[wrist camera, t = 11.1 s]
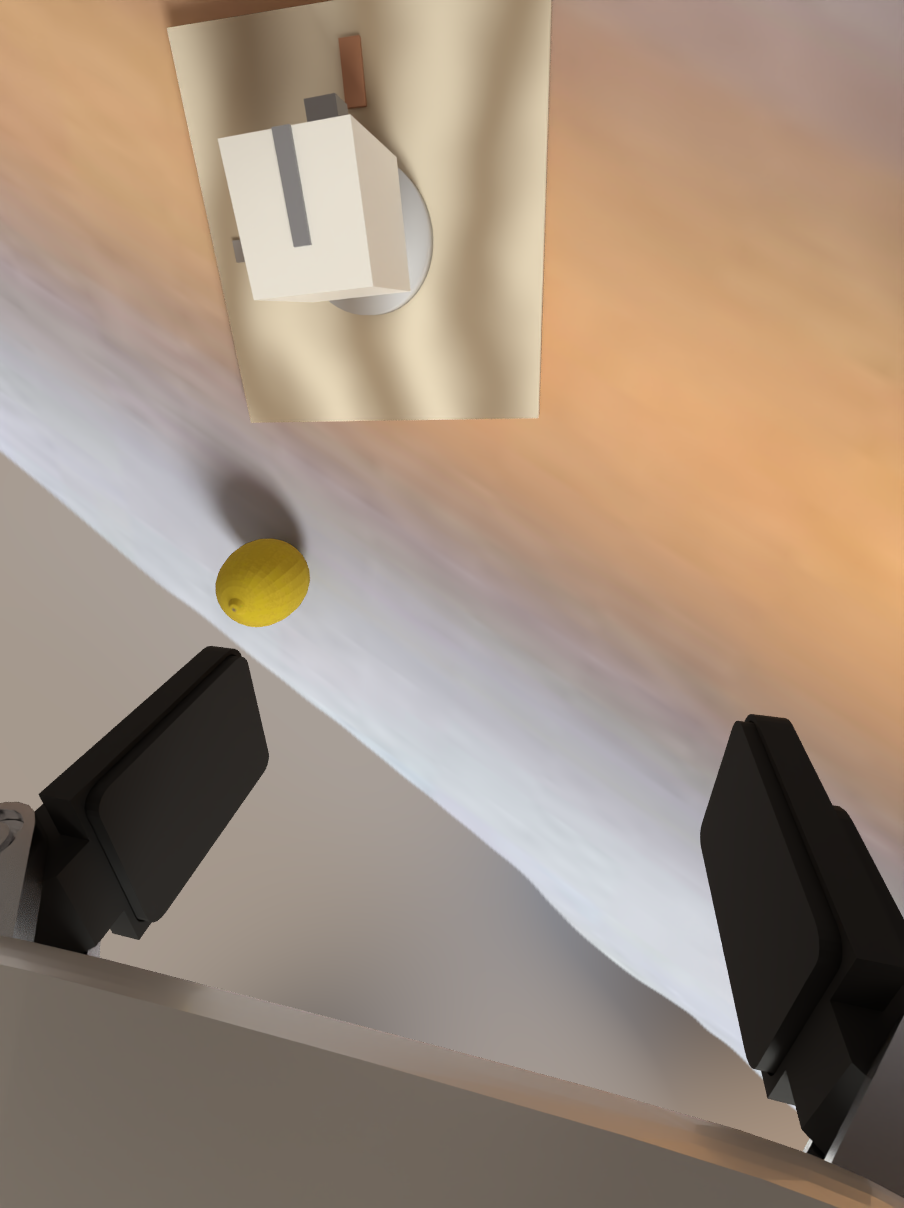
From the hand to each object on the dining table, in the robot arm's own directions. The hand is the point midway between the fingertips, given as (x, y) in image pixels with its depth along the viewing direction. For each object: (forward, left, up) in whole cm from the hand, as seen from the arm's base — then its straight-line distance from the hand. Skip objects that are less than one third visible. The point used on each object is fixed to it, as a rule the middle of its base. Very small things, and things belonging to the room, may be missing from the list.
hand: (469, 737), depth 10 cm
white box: (+9, -12, -22) cm, 26 cm away
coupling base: (+9, -11, -26) cm, 30 cm away
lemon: (+18, +8, -26) cm, 33 cm away
